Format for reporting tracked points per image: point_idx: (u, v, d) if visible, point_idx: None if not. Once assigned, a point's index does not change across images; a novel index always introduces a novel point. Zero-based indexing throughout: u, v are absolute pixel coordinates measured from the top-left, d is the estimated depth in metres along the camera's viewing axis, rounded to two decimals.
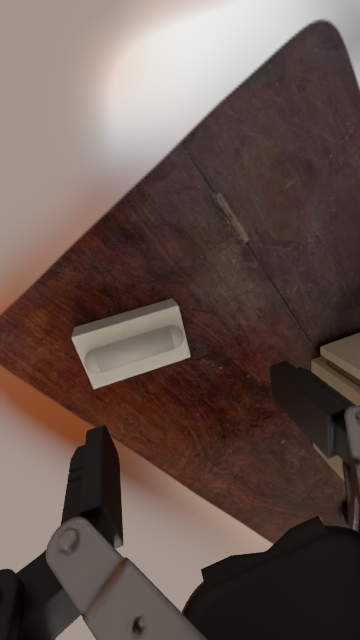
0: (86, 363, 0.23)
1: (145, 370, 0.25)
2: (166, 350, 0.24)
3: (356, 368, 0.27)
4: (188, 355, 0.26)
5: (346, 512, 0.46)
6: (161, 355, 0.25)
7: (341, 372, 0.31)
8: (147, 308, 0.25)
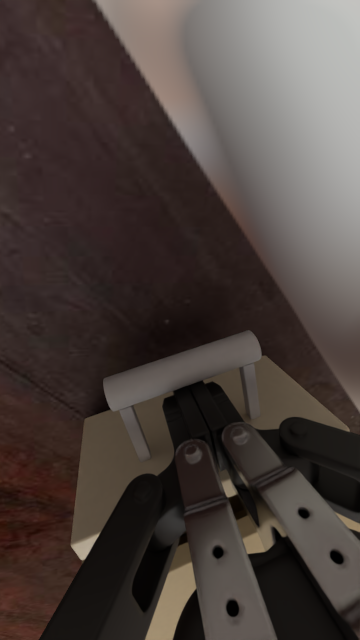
0: None
1: None
2: None
3: (77, 492, 0.12)
4: None
5: None
6: None
7: None
8: None
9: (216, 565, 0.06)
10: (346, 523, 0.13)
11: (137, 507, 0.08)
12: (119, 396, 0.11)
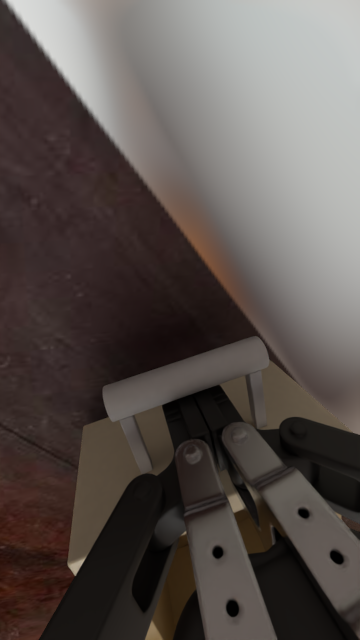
0: None
1: None
2: None
3: (75, 506, 0.12)
4: None
5: None
6: None
7: None
8: None
9: (216, 565, 0.06)
10: None
11: (137, 507, 0.08)
12: (119, 406, 0.10)
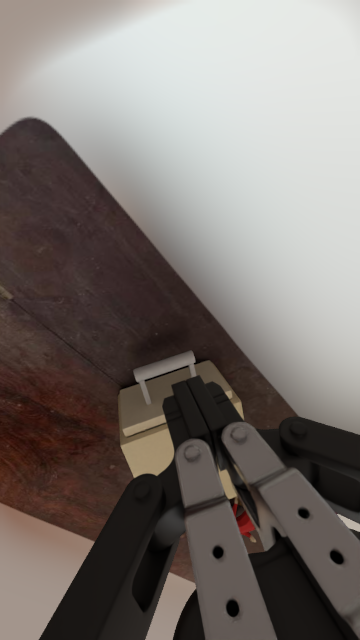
0: None
1: None
2: None
3: (121, 415, 0.31)
4: None
5: None
6: None
7: None
8: None
9: (216, 565, 0.06)
10: None
11: (137, 507, 0.08)
12: (139, 376, 0.29)
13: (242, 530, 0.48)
